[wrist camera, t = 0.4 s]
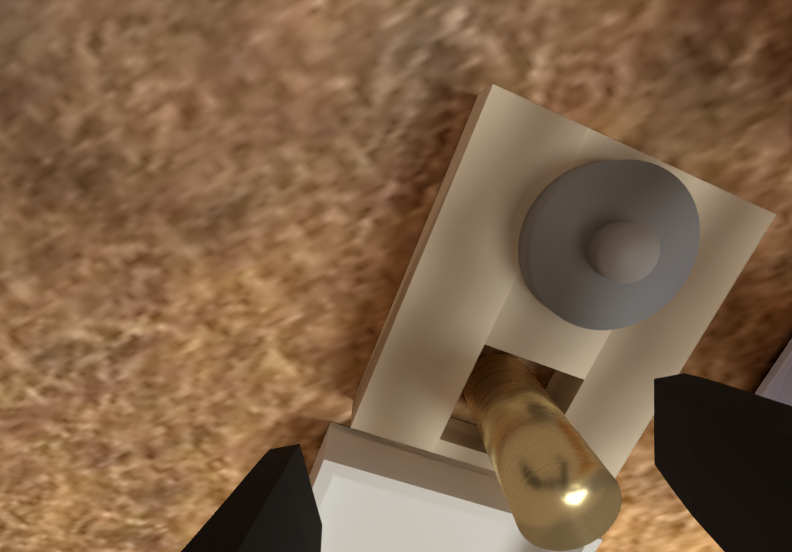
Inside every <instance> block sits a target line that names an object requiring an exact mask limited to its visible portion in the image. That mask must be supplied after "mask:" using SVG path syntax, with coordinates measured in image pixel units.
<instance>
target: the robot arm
mask: <svg viewBox="0 0 792 552" xmlns="http://www.w3.org/2000/svg"><path fill="white" fill-rule="evenodd" d="M654 454H655V465H656V467H657V468H658V470H659V471H660V473H661V474H662V475H663V477H664V478H665V480H666V481H667V482H668V484H669V485H670V487H671V488H672V489H673V491H674V492H675V494H676V495H677V496H678V497H679V499H680V500H681V501H682V503H683V504H684V505H685V507H686V508H687V509H688V511H689V512H690V513H691V515H692V516H693V517H694V518H695V519H696V520H697V521H698V523H699V524H700V525H701V526H702V527H703V528H704V529H705V531H706V532H707V533H708V534H709V535H710V536H711V537H712V538H713V539H714V540H715V542H716V543H717V544H718V545H719V546H720V547H721V548H722V549H723V550H724V552H792V338H791V340H790V341H789V343H788V344H787V346H786V347H785V349H784V350H783V352H782V353H781V355H780V356H779V358H778V359H777V361H776V362H775V364H774V365H773V367H772V368H771V370H770V371H769V373H768V374H767V376H766V377H765V379H764V380H763V382H762V383H761V385H760V386H759V388H758V389H757V391H756V392H755V394H753V393H750V392H747V391H744V390H741V389H737V388H734V387H731V386H728V385H725V384H721V383H718V382H715V381H711V380H708V379H704V378H701V377H697V376H693V375H689V374H685V373H683V374H677V375H672V376H666V377H661V378H656V379H654ZM321 540H322V522H321V519H320V515H319V511H318V508H317V504H316V501H315V497H314V494H313V490H312V487H311V483H310V479H309V476H308V472H307V469H306V465H305V462H304V458H303V454H302V451H301V447H300V444H297V445H291V446H286V447H280V448H275V449H270V450H269V451H268V452H267V453H266V454H265V455H264V456H263V457H262V458H261V460H260V461H259V462H258V463H257V464H256V465H255V466H254V468H253V469H252V470H251V471H250V472H249V473H248V475H247V476H246V477H245V478H244V479H243V481H242V482H241V483H240V484H239V485H238V486H237V488H236V489H235V490H234V491H233V492H232V494H231V495H230V496H229V497H228V498H227V499H226V501H225V502H224V503H223V504H222V505H221V506H220V508H219V509H218V510H217V511H216V512H215V513H214V514H213V516H212V517H211V518H210V519H209V520H208V521H207V523H206V524H205V525H204V526H203V527H202V528H201V529H200V531H199V532H198V533H197V534H196V535H195V536H194V538H193V539H192V540H191V541H190V542H189V543H188V544H187V545H186V547H185V548H184V549H183V550H182V551H181V552H321Z"/></svg>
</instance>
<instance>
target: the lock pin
mask: <svg viewBox="0 0 792 552" xmlns="http://www.w3.org/2000/svg"><path fill="white" fill-rule="evenodd" d="M463 394H464V397H465V400H466V402H467V404H468V407H469V409H470V412H471V414H472V417H473V419H474V422H475V424H476V427H477V429H478V431H479V434H480V436H481V439H482V441H483V444H484V446H485V449H486V451H487V454H488V456H489V458H490V461H491V463H492V466H493V468H494V471H495V473H496V476H497V478H498V481H499V483H500V485H501V488H502V490H503V493H504V495H505V498H506V500H507V503H508V505H509V508H510V510H511V512H512V515H513V517H514V520H515V522H516V525H517V527H518V529H519V531H520V533H521V534H522V535H523V537H524V538H525V539H526V540H527V541H529V542H530V543H532V544H533V545H535V546H537V547H540V548H542V549H546V550H551V551H567V550H573V549H577V548H580V547H583V546H586V545H588V544H590V543H592V542H594V541H595V540H597V539H598V538H600V537H601V536H602V535H603V534H605V533H606V532H607V531H608V530H609V528H610V527H611V526H612V525H613V523H614V522H615V520H616V518H617V516H618V514H619V511H620V508H621V500H622V498H621V491H620V487H619V485H618V483H617V481H616V480H615V478H614V477H613V476H612V474H611V473H610V472H609V470H608V469H607V468H606V467H605V465H604V464H603V463H602V462H601V460H600V459H599V458H598V457H597V455H596V454H595V453H594V452H593V450H592V449H591V448H590V447H589V445H588V444H587V443H586V441H585V440H584V439H583V438H582V436H581V435H580V434H579V433H578V431H577V430H576V429H575V428H574V426H573V425H572V424H571V423H570V421H569V420H568V419H567V417H566V416H565V415H564V414H563V412H562V411H561V410H560V409H559V407H558V406H557V405H556V404H555V402H554V401H553V400H552V399H551V397H550V396H549V395H548V393H547V392H546V391H545V390H544V388H543V387H542V386H541V385H540V383H539V382H538V381H537V380H536V378H535V377H534V376H533V375H532V373H531V372H530V371H529V369H528V368H527V367H526V366H525V364H524V363H523V362H522V361H521V360H519V359H518V358H516V357H515V356H512V355H509V354H505V353H494V354H489V355H486V356H484V357H482V358H480V359H478V360H477V361H476V363H475V365H474V367H473V370H472V372H471V374H470V376H469V378H468V380H467V382H466V384H465V386H464V388H463Z"/></svg>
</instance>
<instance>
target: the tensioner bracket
mask: <svg viewBox="0 0 792 552" xmlns="http://www.w3.org/2000/svg"><path fill="white" fill-rule="evenodd" d="M775 216H776V214H774V213H772V212H770V211H768V210H766V209H764V208H761V207H759V206H757V205H755V204H753V203H751V202H748V201H746V200H744V199H742V198H740V197H738V196H735V195H733V194H731V193H729V192H727V191H724V190H722V189H720V188H718V187H716V186H714V185H711V184H709V183H707V182H705V181H703V180H701V179H698V178H696V177H694V176H692V175H690V174H688V173H685V172H683V171H681V170H679V169H677V168H675V167H672V166H670V165H668V164H666V163H664V162H662V161H659V160H657V159H655V158H653V157H651V156H648V155H646V154H644V153H642V152H640V151H638V150H635V149H633V148H631V147H629V146H627V145H625V144H622V143H620V142H618V141H616V140H614V139H612V138H609V137H607V136H605V135H603V134H601V133H599V132H596V131H594V130H592V129H590V128H588V127H586V126H583V125H581V124H579V123H577V122H575V121H572V120H570V119H568V118H566V117H564V116H562V115H559V114H557V113H555V112H553V111H551V110H549V109H546V108H544V107H542V106H540V105H538V104H536V103H533V102H531V101H529V100H527V99H525V98H523V97H520V96H518V95H516V94H514V93H512V92H510V91H507V90H505V89H503V88H501V87H499V86H496V85H494V84H492V85H491V86H490V87H488V88H487V89H486V90H484V91H483V92H482V93H480V94H479V95H478V96H477V99H476V101H475V104H474V106H473V108H472V111H471V113H470V116H469V118H468V121H467V123H466V126H465V128H464V130H463V133H462V135H461V138H460V140H459V143H458V145H457V148H456V150H455V152H454V155H453V157H452V160H451V162H450V165H449V167H448V170H447V172H446V174H445V177H444V179H443V182H442V184H441V187H440V189H439V192H438V194H437V196H436V199H435V201H434V204H433V206H432V209H431V211H430V214H429V216H428V218H427V221H426V223H425V226H424V228H423V231H422V233H421V236H420V238H419V240H418V243H417V245H416V248H415V250H414V253H413V255H412V258H411V260H410V262H409V265H408V267H407V270H406V272H405V275H404V277H403V280H402V282H401V284H400V287H399V289H398V292H397V294H396V297H395V299H394V302H393V304H392V306H391V309H390V311H389V314H388V316H387V319H386V321H385V324H384V326H383V328H382V331H381V333H380V336H379V338H378V341H377V343H376V346H375V348H374V350H373V353H372V355H371V358H370V360H369V363H368V365H367V368H366V370H365V372H364V375H363V377H362V380H361V382H360V385H359V387H358V389H357V392H356V394H355V397H354V399H353V406H352V417H351V428H354V429H357V430H360V431H363V432H367V433H370V434H373V435H377V436H380V437H383V438H386V439H390V440H393V441H396V442H400V443H403V444H406V445H410V446H413V447H416V448H419V449H423V450H426V451H429V452H433V453H436V454H439V455H442V456H446V457H449V458H452V459H456V460H459V461H462V462H465V463H469V464H472V465H475V466H479V467H482V468H485V469H489V470H492V471H494V468H493V466H492V463H491V461H490V458H489V456H488V454H487V451H486V449H485V446H484V444H483V441H482V439H481V436H480V434H479V431H478V429H477V427H476V425H473V424H470V423H467V422H464V421H461V420H458V419H455V418H451V417H450V416H451V413H452V411H453V409H454V407H455V405H456V403H457V401H458V399H459V397H460V395H461V393H462V390H463V388H464V386H465V384H466V382H467V380H468V378H469V376H470V374H471V372H472V370H473V367H474V365H475V363H476V361H477V359H478V357H479V355H480V353H481V351H482V349H483V346H484V344H485V345H488V346H491V347H493V348H496V349H499V350H502V351H505V352H508V353H510V354H513V355H516V356H519V357H522V358H525V359H527V360H530V361H533V362H536V363H539V364H541V365H544V366H547V367H550V368H553V369H556V370H555V372H554V374H553V376H552V378H551V379H550V381H549V383H548V385H547V387H546V389H545V391H546V392H547V393H548V395H549V396H550V397H551V399H552V400H553V401H554V402H555V404H556V405H557V406H558V407H559V409H560V410H561V411H562V412H563V414H564V415H565V416H566V417H567V419H568V420H569V421H570V423H571V424H572V425H573V426H574V428H575V429H576V430H577V431H578V433H579V434H580V435H581V436H582V438H583V439H584V440H585V441H586V443H587V444H588V445H589V447H590V448H591V449H592V450H593V452H594V453H595V454H596V455H597V457H598V458H599V459H600V460H601V462H602V463H603V464H604V465H605V467H606V468H607V469H608V470H609V472H610V473H611V474H612V476H613V477H614V478H616V476H617V474H618V473H619V471H620V469H621V468H622V466H623V465H624V463H625V461H626V460H627V458H628V456H629V455H630V453H631V451H632V450H633V448H634V447H635V445H636V443H637V442H638V440H639V438H640V437H641V435H642V433H643V432H644V430H645V429H646V427H647V425H648V424H649V422H650V420H651V419H652V417H653V415H654V379H656V378H661V377H666V376H672V375H677V374H679V373H680V371H681V370H682V368H683V366H684V365H685V363H686V361H687V360H688V358H689V357H690V355H691V353H692V352H693V350H694V348H695V347H696V345H697V343H698V342H699V340H700V339H701V337H702V335H703V334H704V332H705V330H706V329H707V327H708V325H709V324H710V322H711V321H712V319H713V317H714V316H715V314H716V312H717V311H718V309H719V307H720V306H721V304H722V303H723V301H724V299H725V298H726V296H727V294H728V293H729V291H730V289H731V288H732V286H733V285H734V283H735V281H736V280H737V278H738V276H739V275H740V273H741V272H742V270H743V268H744V267H745V265H746V263H747V262H748V260H749V258H750V257H751V255H752V254H753V252H754V250H755V249H756V247H757V245H758V244H759V242H760V240H761V239H762V237H763V236H764V234H765V232H766V231H767V229H768V227H769V226H770V224H771V222H772V221H773V219H774V218H775Z"/></svg>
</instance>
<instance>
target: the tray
mask: <svg viewBox="0 0 792 552" xmlns="http://www.w3.org/2000/svg"><path fill="white" fill-rule="evenodd" d="M309 479H310V483H311V487H312V490H313V494H314V497H315V501H316V504H317V508H318V511H319V515H320V519H321V522H322V540H321V552H595V551H596V549H597V548H598V546H599V545H600V543H601V541H602V538H601V537H600V538H598V539H597V540H595V541H594V542H592V543H590V544H588V545H586V546H583V547H580V548H577V549H573V550H567V551H551V550H546V549H542V548H540V547H537V546H535V545H533V544H532V543H530V542H529V541H527V540H526V539H525V538H524V537H523V535H522V534H521V533H520V531H519V529H518V527H517V525H516V522H515V520H514V517H513V515H512V512H511V510H510V508H509V505H508V503H507V500H506V498H505V495H504V493H503V490H502V488H501V485H500V483H499V481H498V478H497V476H496V473H495V472H494V471H491V470H488V469H484V468H481V467H478V466H474V465H471V464H468V463H465V462H461V461H458V460H455V459H451V458H448V457H445V456H442V455H438V454H435V453H432V452H428V451H425V450H422V449H418V448H415V447H412V446H409V445H405V444H402V443H399V442H395V441H392V440H389V439H386V438H382V437H379V436H376V435H372V434H369V433H366V432H363V431H359V430H356V429H353V428H349V427H346V426H343V425H339V424H336V423H333V422H330V424H329V427H328V429H327V432H326V434H325V437H324V439H323V442H322V444H321V447H320V449H319V452H318V454H317V457H316V459H315V462H314V464H313V467H312V469H311V472H310V474H309Z"/></svg>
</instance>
